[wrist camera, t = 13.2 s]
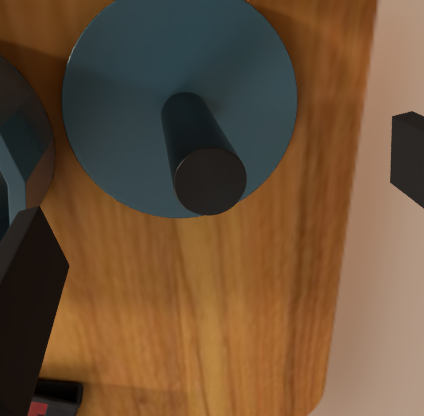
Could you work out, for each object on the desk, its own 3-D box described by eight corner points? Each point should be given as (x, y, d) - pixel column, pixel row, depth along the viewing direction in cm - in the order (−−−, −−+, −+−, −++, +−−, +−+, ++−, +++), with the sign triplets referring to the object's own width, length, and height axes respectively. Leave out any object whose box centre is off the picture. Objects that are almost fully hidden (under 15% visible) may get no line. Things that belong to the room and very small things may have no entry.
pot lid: (278, -46, 22) (387, -79, 12) (301, 182, 29) (381, 273, 20) (22, 15, 21) (-75, 31, 12) (110, 232, 29) (96, 353, 19)
